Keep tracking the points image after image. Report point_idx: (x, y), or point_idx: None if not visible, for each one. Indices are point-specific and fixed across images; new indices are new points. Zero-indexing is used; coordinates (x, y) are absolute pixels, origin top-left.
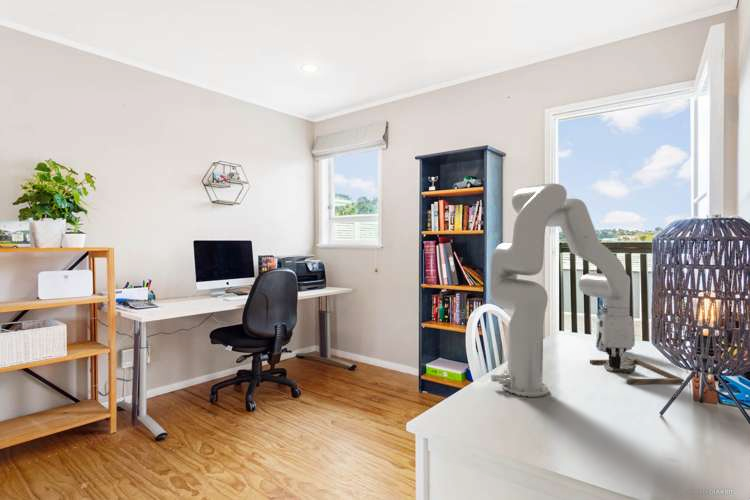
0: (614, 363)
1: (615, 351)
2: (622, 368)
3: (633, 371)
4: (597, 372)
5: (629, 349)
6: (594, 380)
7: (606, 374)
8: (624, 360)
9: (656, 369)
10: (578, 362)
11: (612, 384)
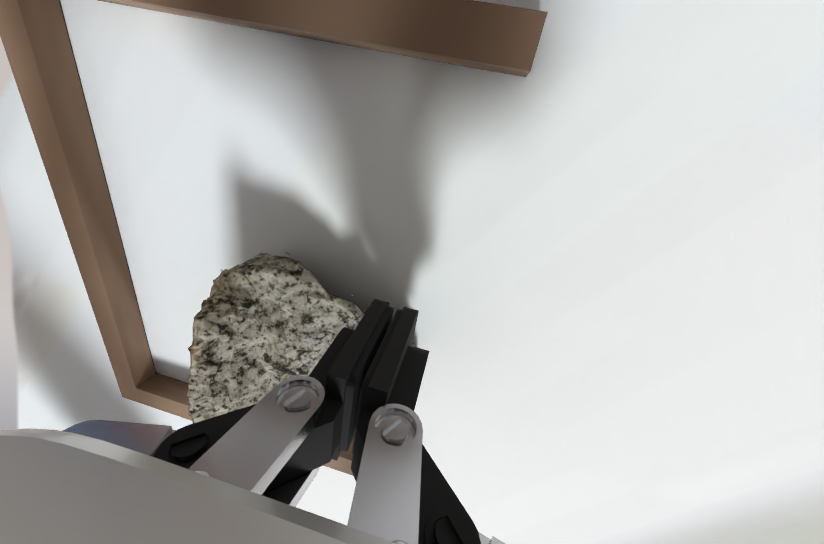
0: (406, 348)
1: (301, 476)
2: (338, 303)
3: (272, 257)
4: (519, 360)
5: (115, 427)
6: (777, 233)
7: (491, 309)
8: (248, 371)
9: (90, 229)
10: (465, 502)
11: (728, 74)
